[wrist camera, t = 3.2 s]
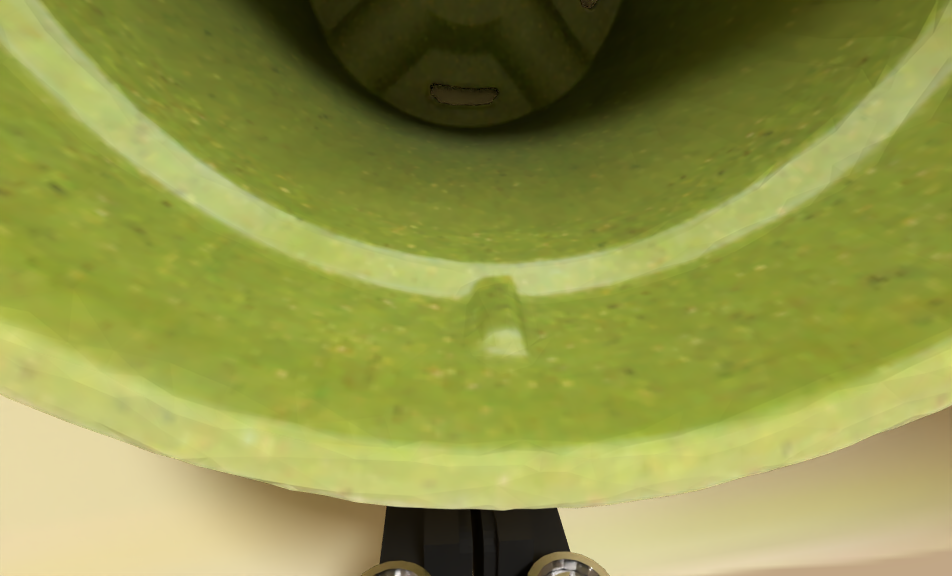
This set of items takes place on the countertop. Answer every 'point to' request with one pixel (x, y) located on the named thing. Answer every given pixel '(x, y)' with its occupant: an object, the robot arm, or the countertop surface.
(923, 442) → the countertop surface
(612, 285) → the plant pot
